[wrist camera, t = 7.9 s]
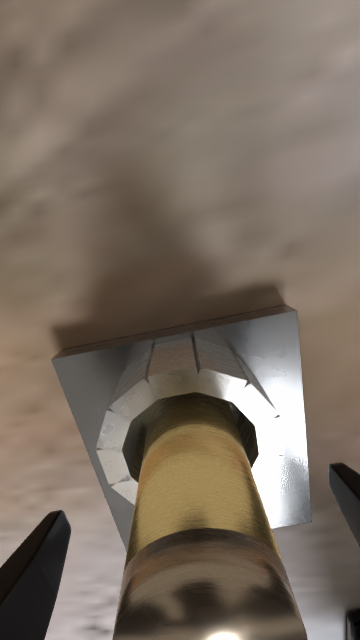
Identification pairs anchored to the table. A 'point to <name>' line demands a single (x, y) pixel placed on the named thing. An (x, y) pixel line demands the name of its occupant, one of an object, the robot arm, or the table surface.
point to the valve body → (201, 536)
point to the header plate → (256, 349)
